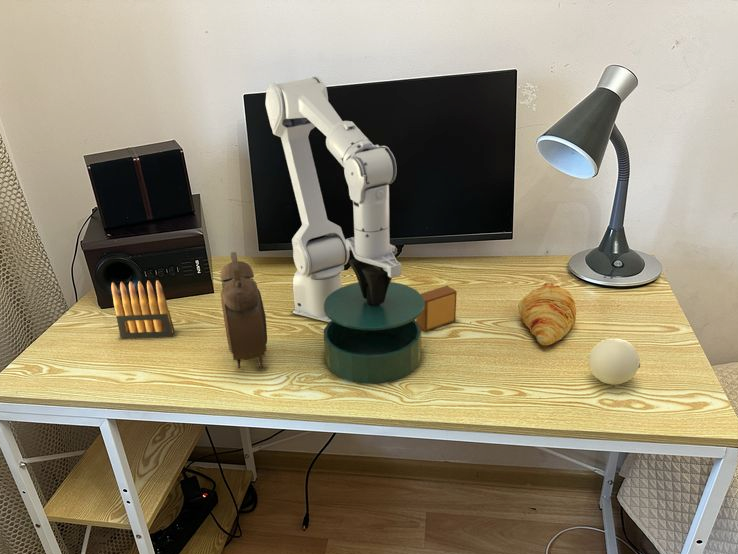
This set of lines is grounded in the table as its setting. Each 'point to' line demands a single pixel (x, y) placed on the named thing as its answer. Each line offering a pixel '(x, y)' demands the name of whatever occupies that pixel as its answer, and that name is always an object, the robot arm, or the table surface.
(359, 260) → the robot arm
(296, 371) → the table surface
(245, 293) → the alarm clock
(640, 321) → the table surface
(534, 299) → the croissant
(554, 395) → the table surface
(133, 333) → the ammunition clip
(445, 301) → the tall brown block
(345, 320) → the lid
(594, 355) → the cream white ovoid
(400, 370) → the pot
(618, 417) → the table surface
